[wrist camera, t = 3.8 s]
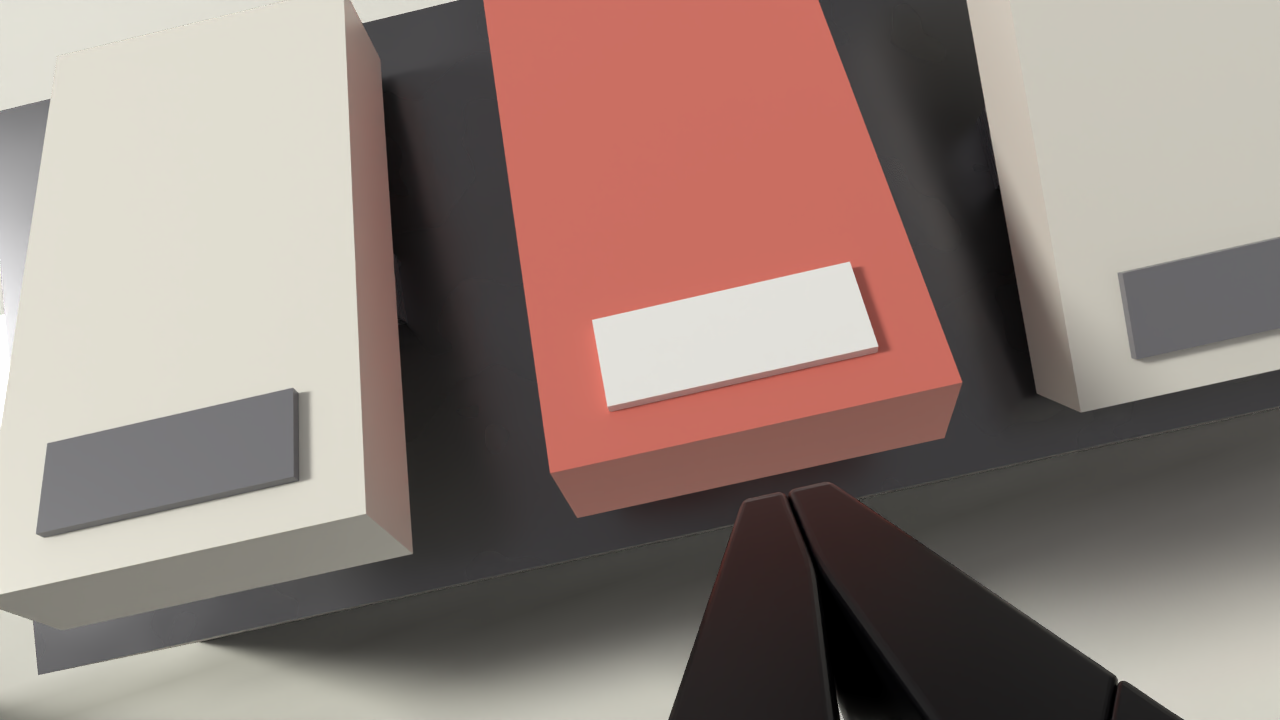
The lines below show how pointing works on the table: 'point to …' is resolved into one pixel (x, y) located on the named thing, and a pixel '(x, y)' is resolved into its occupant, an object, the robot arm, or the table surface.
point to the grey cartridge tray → (501, 341)
